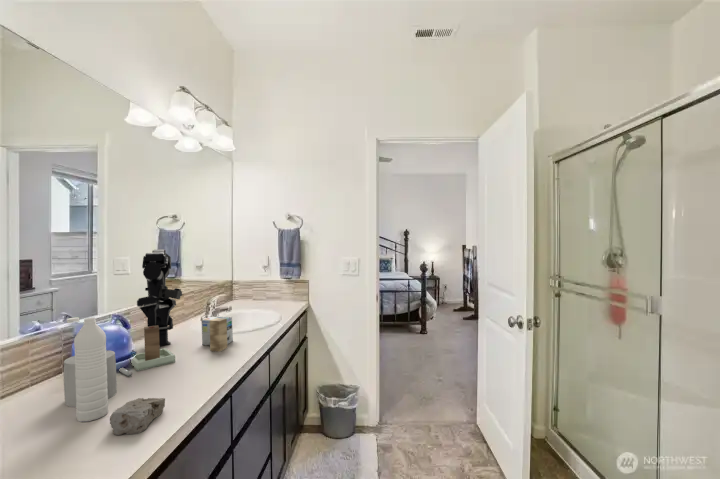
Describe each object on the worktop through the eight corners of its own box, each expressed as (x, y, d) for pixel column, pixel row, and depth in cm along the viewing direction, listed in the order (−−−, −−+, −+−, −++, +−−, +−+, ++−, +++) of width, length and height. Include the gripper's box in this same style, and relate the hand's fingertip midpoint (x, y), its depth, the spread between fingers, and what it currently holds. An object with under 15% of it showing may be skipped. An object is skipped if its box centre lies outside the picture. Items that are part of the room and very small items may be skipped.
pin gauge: (117, 371, 122) (117, 367, 122) (122, 370, 123) (122, 366, 123) (127, 377, 117) (127, 372, 117) (132, 375, 118) (132, 371, 118)
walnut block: (145, 359, 132) (144, 326, 132) (159, 357, 134) (158, 324, 134) (145, 363, 128) (144, 329, 128) (159, 360, 130) (158, 327, 130)
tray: (129, 362, 131) (129, 355, 131) (165, 354, 140) (165, 347, 140) (137, 370, 123) (136, 363, 123) (175, 361, 131) (175, 355, 131)
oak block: (210, 350, 143) (209, 320, 143) (218, 347, 147) (217, 317, 147) (219, 351, 142) (219, 321, 142) (227, 348, 146) (226, 318, 146)
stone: (169, 405, 96) (126, 413, 94) (166, 385, 95) (124, 392, 93) (154, 437, 83) (105, 446, 81) (151, 414, 83) (101, 422, 80)
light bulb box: (233, 340, 156) (232, 316, 156) (226, 345, 149) (225, 319, 149) (209, 340, 157) (209, 316, 157) (201, 345, 150) (200, 319, 150)
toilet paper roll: (125, 393, 105) (124, 353, 105) (77, 411, 95) (76, 367, 95) (103, 385, 111) (102, 348, 111) (55, 401, 100) (54, 360, 100)
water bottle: (114, 409, 95) (111, 314, 95) (96, 422, 89) (92, 320, 88) (81, 409, 95) (78, 315, 95) (60, 422, 89) (57, 321, 88)
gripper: (166, 276, 131) (171, 320, 127) (187, 282, 149) (191, 320, 145) (134, 283, 129) (138, 327, 126) (158, 288, 147) (162, 326, 144)
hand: (159, 325), depth 135 cm, fingers open, 9 cm apart
